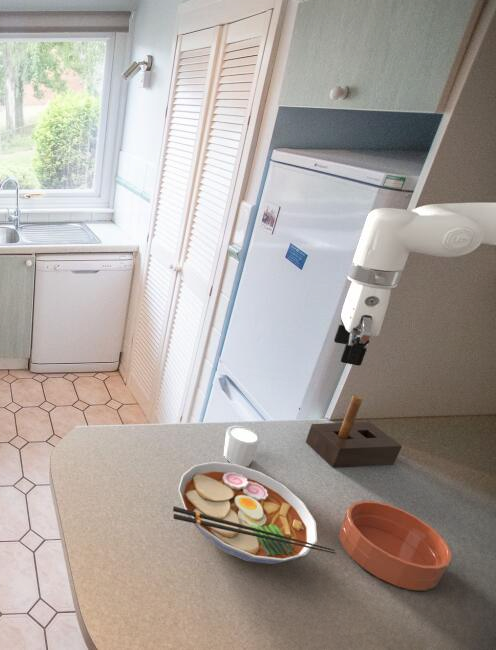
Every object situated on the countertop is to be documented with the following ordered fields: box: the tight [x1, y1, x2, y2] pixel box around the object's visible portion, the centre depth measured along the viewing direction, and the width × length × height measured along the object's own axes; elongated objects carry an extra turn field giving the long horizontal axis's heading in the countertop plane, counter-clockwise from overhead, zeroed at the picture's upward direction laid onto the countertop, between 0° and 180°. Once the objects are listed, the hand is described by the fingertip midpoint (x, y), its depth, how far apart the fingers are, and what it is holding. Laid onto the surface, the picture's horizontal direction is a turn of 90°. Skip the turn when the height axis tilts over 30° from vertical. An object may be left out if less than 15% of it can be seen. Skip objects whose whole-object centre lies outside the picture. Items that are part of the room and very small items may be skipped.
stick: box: [338, 394, 364, 439], centre depth 104 cm, size 2×2×16 cm
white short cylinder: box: [223, 424, 261, 468], centre depth 104 cm, size 7×7×7 cm
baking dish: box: [338, 500, 453, 591], centre depth 81 cm, size 14×14×6 cm
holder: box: [305, 421, 403, 469], centre depth 106 cm, size 9×15×6 cm, turn 93°
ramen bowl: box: [172, 461, 336, 565], centre depth 85 cm, size 25×23×8 cm
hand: (346, 352), depth 93 cm, fingers open, 9 cm apart
